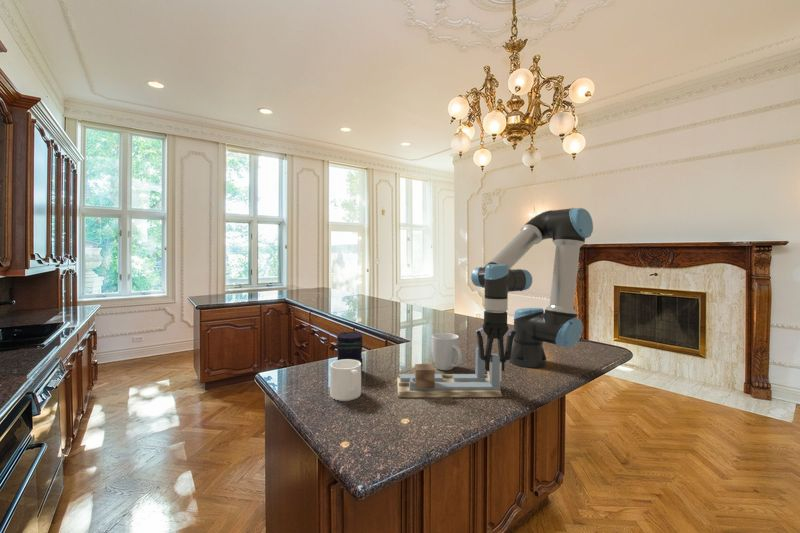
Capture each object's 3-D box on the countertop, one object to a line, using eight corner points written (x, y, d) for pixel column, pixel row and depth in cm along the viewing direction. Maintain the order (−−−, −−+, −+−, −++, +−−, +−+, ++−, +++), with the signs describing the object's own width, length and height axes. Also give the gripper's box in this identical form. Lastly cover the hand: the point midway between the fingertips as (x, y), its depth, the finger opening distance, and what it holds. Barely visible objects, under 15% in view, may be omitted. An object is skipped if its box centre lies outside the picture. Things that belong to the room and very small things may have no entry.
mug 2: (471, 372, 138) (471, 339, 137) (449, 377, 132) (450, 343, 131) (446, 361, 150) (446, 331, 150) (425, 366, 144) (425, 334, 144)
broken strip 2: (482, 377, 129) (482, 346, 128) (485, 381, 125) (485, 350, 124) (452, 377, 128) (452, 346, 128) (454, 381, 124) (454, 350, 124)
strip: (496, 386, 121) (497, 353, 120) (500, 390, 117) (501, 356, 116) (409, 386, 120) (409, 353, 119) (409, 391, 116) (410, 357, 115)
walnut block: (432, 381, 121) (432, 364, 121) (434, 388, 115) (434, 370, 115) (414, 381, 121) (415, 364, 121) (416, 388, 115) (416, 370, 115)
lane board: (488, 378, 131) (488, 374, 131) (502, 396, 115) (502, 391, 115) (397, 379, 130) (397, 374, 130) (397, 397, 114) (397, 391, 114)
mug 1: (325, 393, 117) (325, 362, 117) (352, 386, 123) (352, 357, 122) (342, 407, 107) (342, 373, 106) (370, 399, 113) (370, 367, 112)
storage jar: (367, 373, 136) (367, 334, 136) (347, 379, 129) (347, 339, 128) (351, 367, 143) (351, 330, 142) (331, 373, 136) (331, 334, 135)
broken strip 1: (441, 377, 128) (441, 374, 128) (442, 381, 124) (442, 378, 124) (400, 377, 128) (400, 374, 128) (400, 382, 124) (400, 378, 124)
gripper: (514, 308, 121) (513, 376, 122) (470, 308, 121) (468, 376, 122) (522, 312, 114) (521, 384, 115) (475, 312, 114) (473, 384, 115)
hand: (494, 380), depth 118 cm, fingers closed on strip, 2 cm apart
